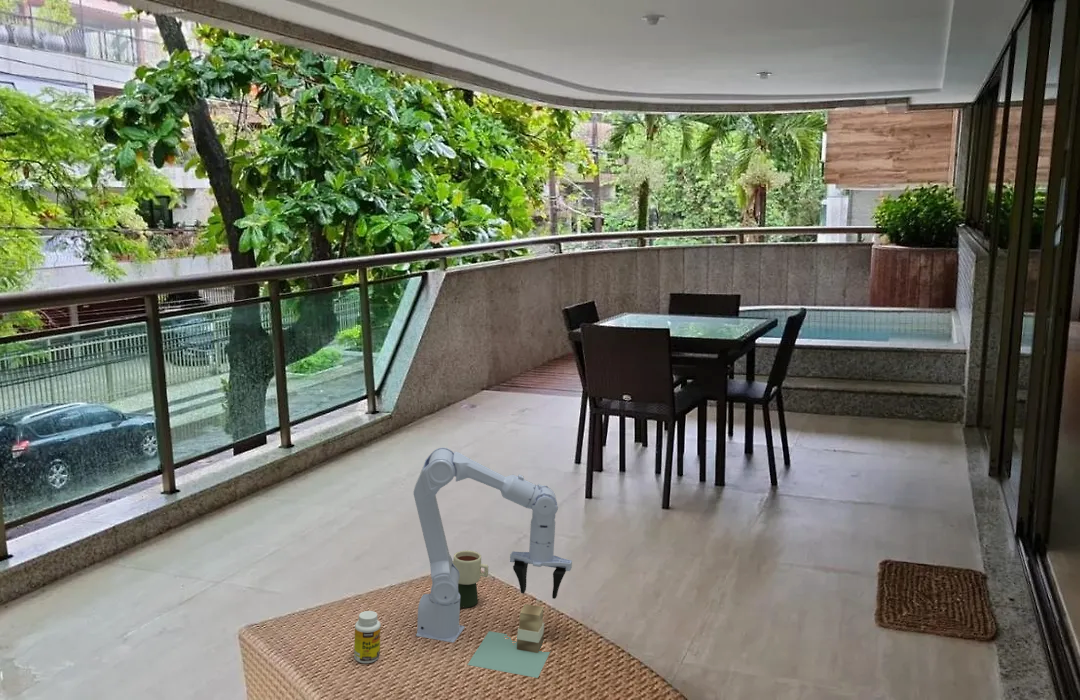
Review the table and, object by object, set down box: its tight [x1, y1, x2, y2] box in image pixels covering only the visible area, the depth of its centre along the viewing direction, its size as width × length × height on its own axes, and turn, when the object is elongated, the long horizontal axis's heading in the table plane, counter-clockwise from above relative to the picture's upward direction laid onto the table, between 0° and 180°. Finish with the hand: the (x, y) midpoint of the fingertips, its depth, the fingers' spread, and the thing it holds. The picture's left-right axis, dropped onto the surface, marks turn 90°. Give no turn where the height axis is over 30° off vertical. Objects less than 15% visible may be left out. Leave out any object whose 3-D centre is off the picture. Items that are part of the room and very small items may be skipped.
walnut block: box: [517, 632, 545, 653], centre depth 195 cm, size 5×5×2 cm
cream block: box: [516, 622, 545, 643], centre depth 194 cm, size 5×5×2 cm
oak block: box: [518, 603, 545, 632], centre depth 194 cm, size 4×4×4 cm
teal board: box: [467, 630, 551, 679], centre depth 191 cm, size 16×16×1 cm
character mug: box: [452, 549, 489, 608], centre depth 214 cm, size 11×7×13 cm, turn 82°
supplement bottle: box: [353, 610, 382, 664], centre depth 186 cm, size 6×6×10 cm
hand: (539, 594), depth 199 cm, fingers open, 7 cm apart
